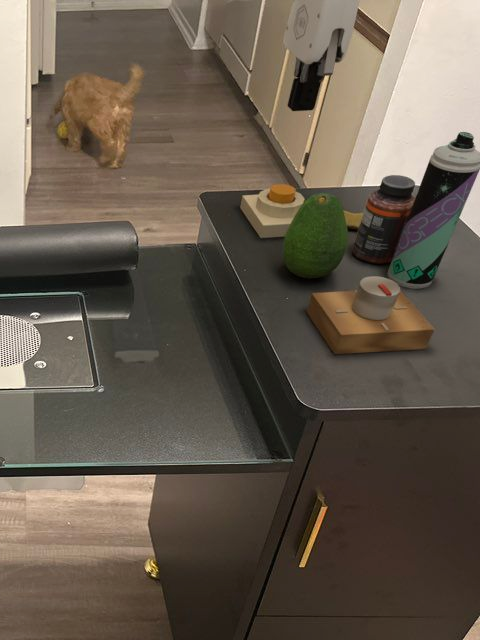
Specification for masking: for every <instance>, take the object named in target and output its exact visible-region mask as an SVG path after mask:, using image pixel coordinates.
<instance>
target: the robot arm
mask: <svg viewBox="0 0 480 640" xmlns="http://www.w3.org/2000/svg"><path fill="white" fill-rule="evenodd" d="M359 4H360V0H293V1H292V6H291V8H290V11H289V15H288V16H289V17H288V20H287V24H286V27H285V28H286V29H285V31H284V36H283V41H282V42H283V46H284V47H285V49H286V50H288V51H289V52H290V53H291V54H293V56H295V64H294V70H293V77H294V78H293V80H292V84H291V88H290V93H289V96H288V101H287V104H286V105H287V108H288V109H289V110H290V111H291V112H304V111H305V112H307V111H313V110H315V108H316V103H317V100H318V96H319V93H320V89H321V85H322V83H323V82H324V79H325V77H329V76H333V74H334V70H335V64H336V63H337V64H339V63H340V62H342V61H343V60H344V59H345V57H346V54H347V52H348V50H349V46H350V42H351V40H352V36H353V32H354V28H355V23H356V20H357V14H358V10H359Z"/></svg>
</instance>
